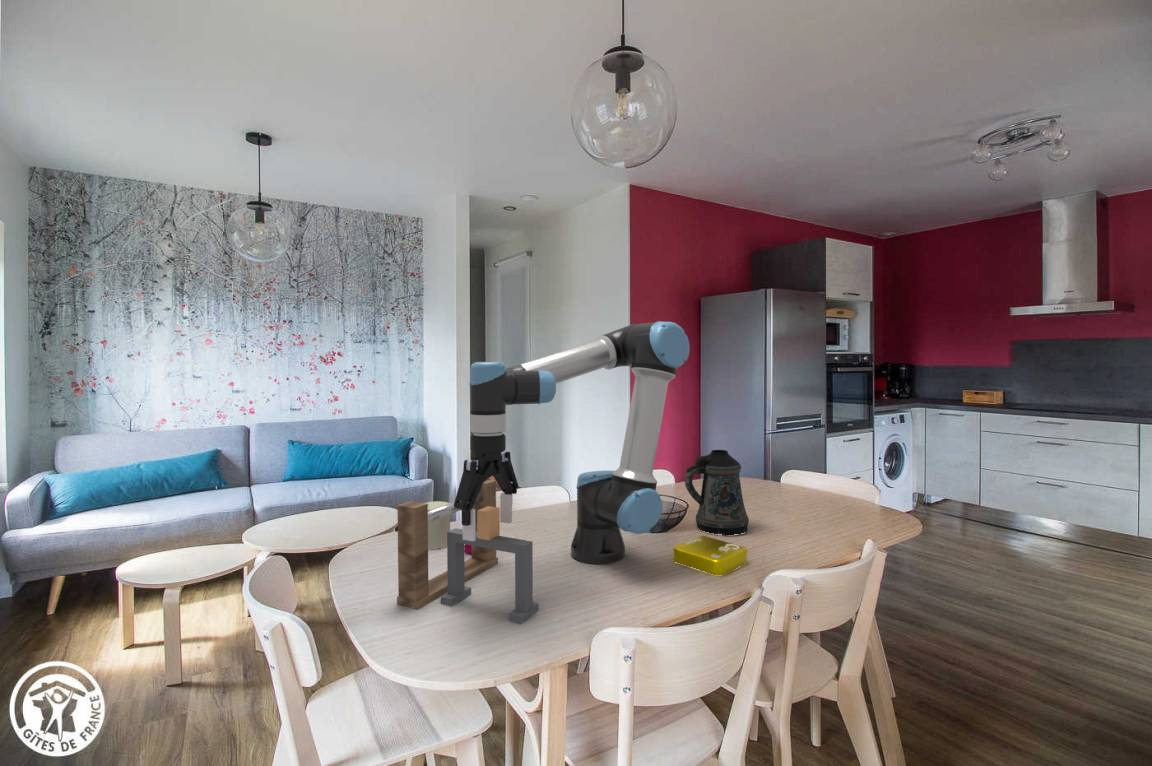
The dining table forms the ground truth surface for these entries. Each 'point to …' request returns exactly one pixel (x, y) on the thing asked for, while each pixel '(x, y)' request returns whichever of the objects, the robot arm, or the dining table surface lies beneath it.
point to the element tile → (710, 555)
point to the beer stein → (718, 494)
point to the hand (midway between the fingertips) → (488, 530)
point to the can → (438, 528)
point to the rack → (415, 549)
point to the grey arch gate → (490, 539)
